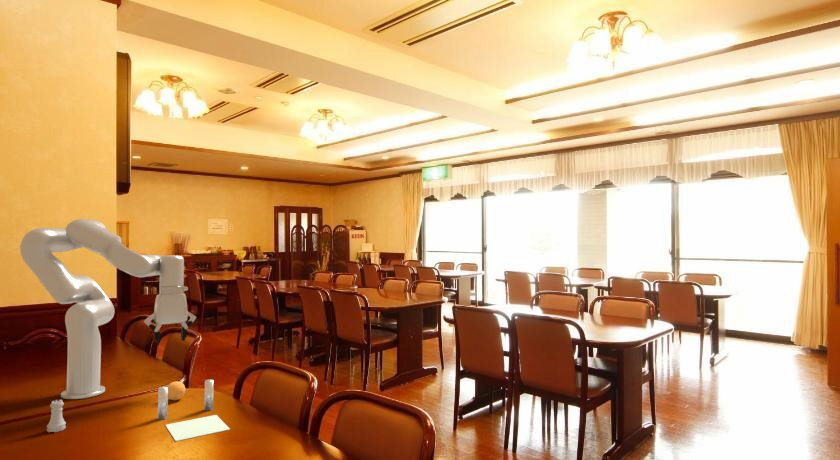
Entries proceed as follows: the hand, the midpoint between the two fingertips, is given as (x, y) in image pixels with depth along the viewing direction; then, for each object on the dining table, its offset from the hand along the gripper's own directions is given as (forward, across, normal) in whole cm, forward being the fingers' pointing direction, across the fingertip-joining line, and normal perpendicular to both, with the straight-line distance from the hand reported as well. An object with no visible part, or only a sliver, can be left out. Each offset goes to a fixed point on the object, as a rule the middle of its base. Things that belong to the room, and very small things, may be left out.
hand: (170, 341), depth 172 cm
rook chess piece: (+18, +32, +18) cm, 41 cm away
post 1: (+18, +6, +26) cm, 32 cm away
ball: (+15, 0, +9) cm, 18 cm away
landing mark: (+18, 0, +40) cm, 43 cm away
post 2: (+18, -7, +25) cm, 32 cm away
